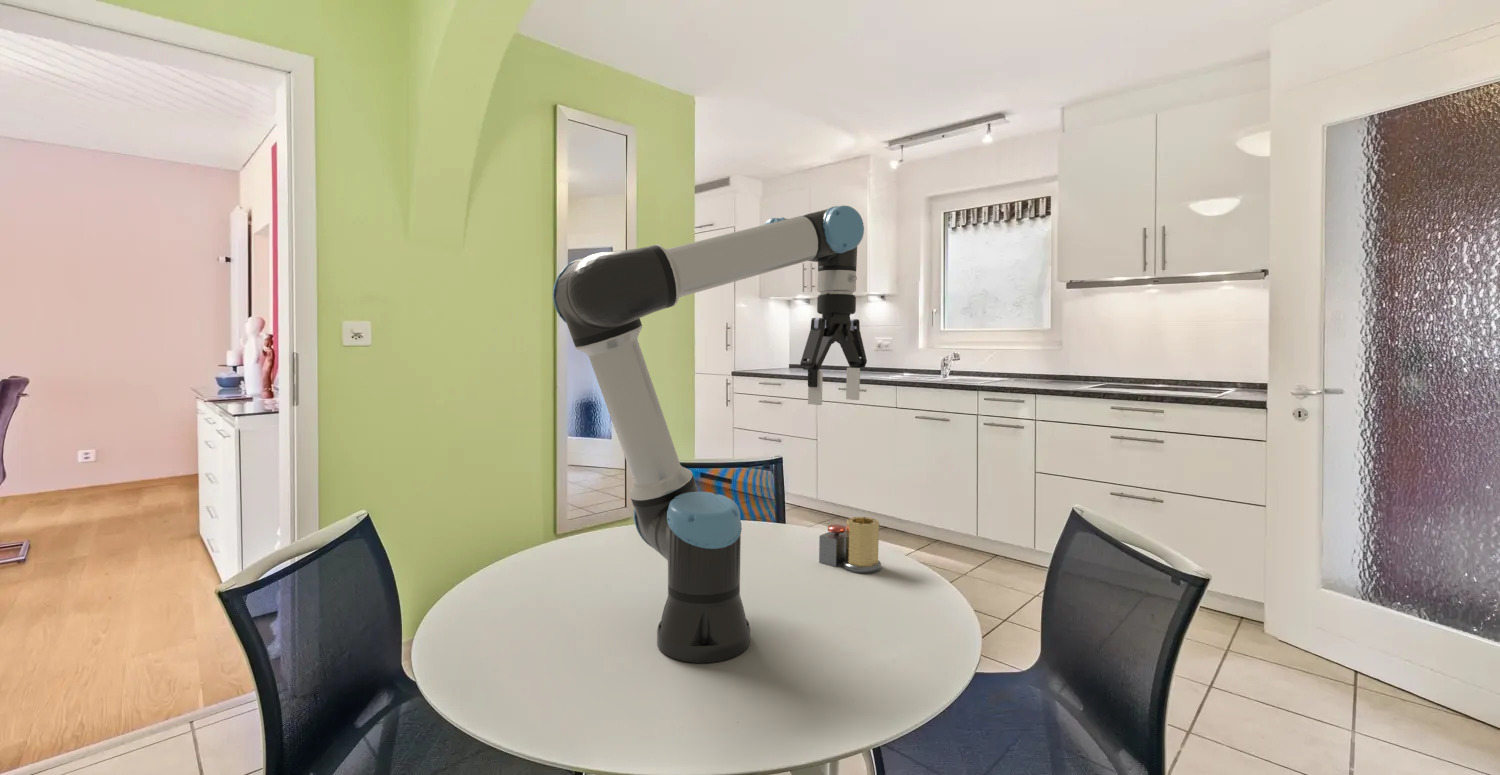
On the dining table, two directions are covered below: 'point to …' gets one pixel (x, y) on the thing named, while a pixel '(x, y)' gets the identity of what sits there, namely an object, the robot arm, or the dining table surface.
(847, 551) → the tan octagonal tube
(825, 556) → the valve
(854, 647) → the dining table surface
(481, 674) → the dining table surface
